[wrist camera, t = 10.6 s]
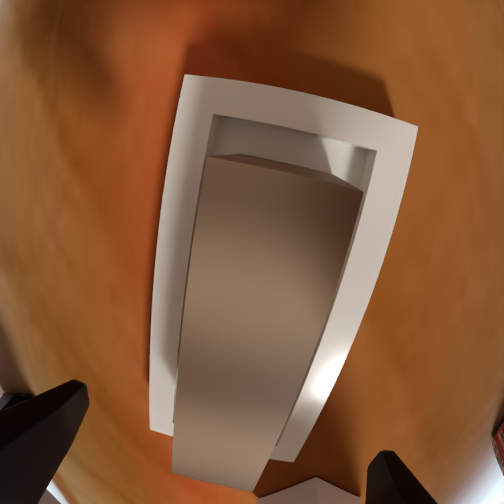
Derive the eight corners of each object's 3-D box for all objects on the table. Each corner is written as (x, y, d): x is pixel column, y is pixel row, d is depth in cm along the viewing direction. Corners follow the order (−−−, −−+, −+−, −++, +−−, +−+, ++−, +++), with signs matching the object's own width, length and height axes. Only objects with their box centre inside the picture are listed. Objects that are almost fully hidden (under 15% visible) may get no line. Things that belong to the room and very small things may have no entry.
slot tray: (294, 435, 20) (293, 462, 17) (161, 404, 20) (150, 429, 18) (398, 129, 13) (418, 126, 11) (200, 85, 14) (184, 74, 11)
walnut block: (263, 410, 18) (252, 491, 12) (199, 395, 18) (171, 472, 12) (332, 174, 13) (363, 192, 8) (241, 153, 13) (207, 156, 8)
